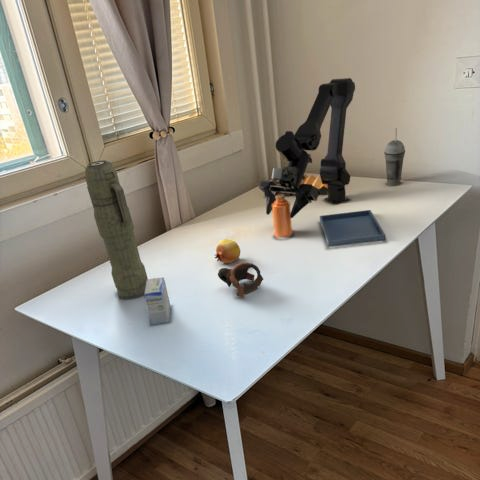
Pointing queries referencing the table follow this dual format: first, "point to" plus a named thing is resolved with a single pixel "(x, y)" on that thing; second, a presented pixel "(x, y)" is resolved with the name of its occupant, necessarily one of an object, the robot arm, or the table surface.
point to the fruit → (227, 251)
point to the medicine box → (157, 300)
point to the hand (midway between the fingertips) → (279, 215)
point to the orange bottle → (281, 216)
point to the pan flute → (309, 180)
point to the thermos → (116, 228)
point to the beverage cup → (394, 161)
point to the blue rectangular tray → (351, 228)
